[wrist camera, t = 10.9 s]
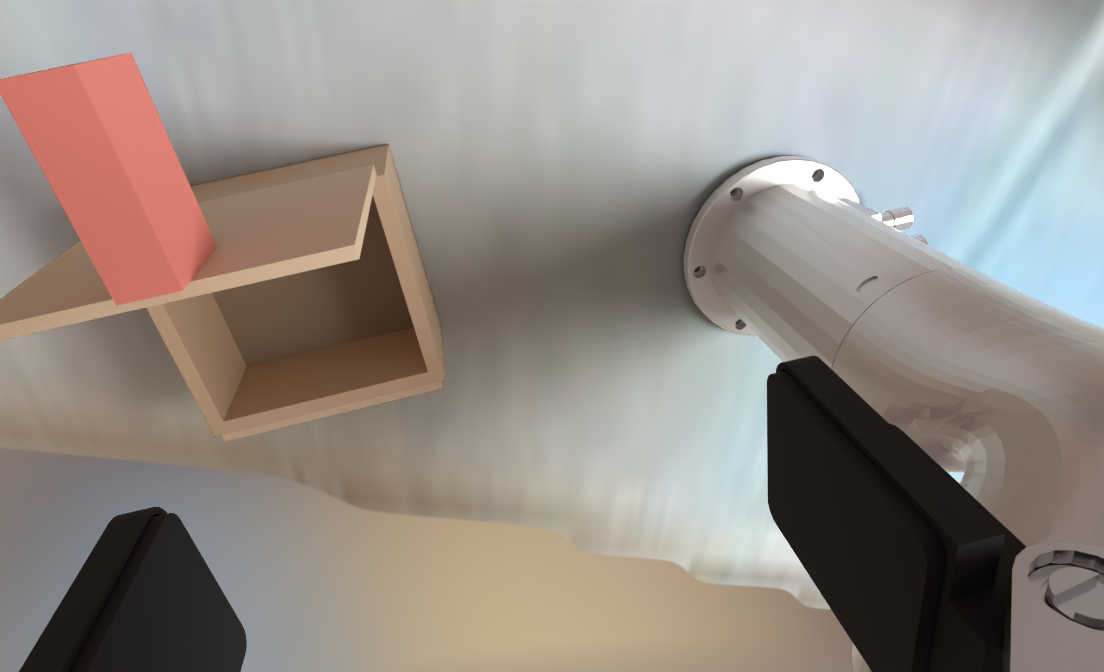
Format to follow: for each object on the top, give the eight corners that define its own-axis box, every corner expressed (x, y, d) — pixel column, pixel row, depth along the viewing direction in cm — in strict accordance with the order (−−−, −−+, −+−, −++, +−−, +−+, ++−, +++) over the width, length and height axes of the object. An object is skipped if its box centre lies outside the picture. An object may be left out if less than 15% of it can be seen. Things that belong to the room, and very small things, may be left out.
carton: (388, 144, 38) (384, 174, 32) (442, 332, 44) (447, 388, 38) (157, 193, 37) (107, 234, 31) (245, 379, 43) (218, 444, 37)
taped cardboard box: (376, 175, 31) (327, 13, 28) (357, 266, 21) (275, 25, 18) (108, 233, 30) (25, 72, 27) (-54, 360, 20) (-224, 123, 17)
